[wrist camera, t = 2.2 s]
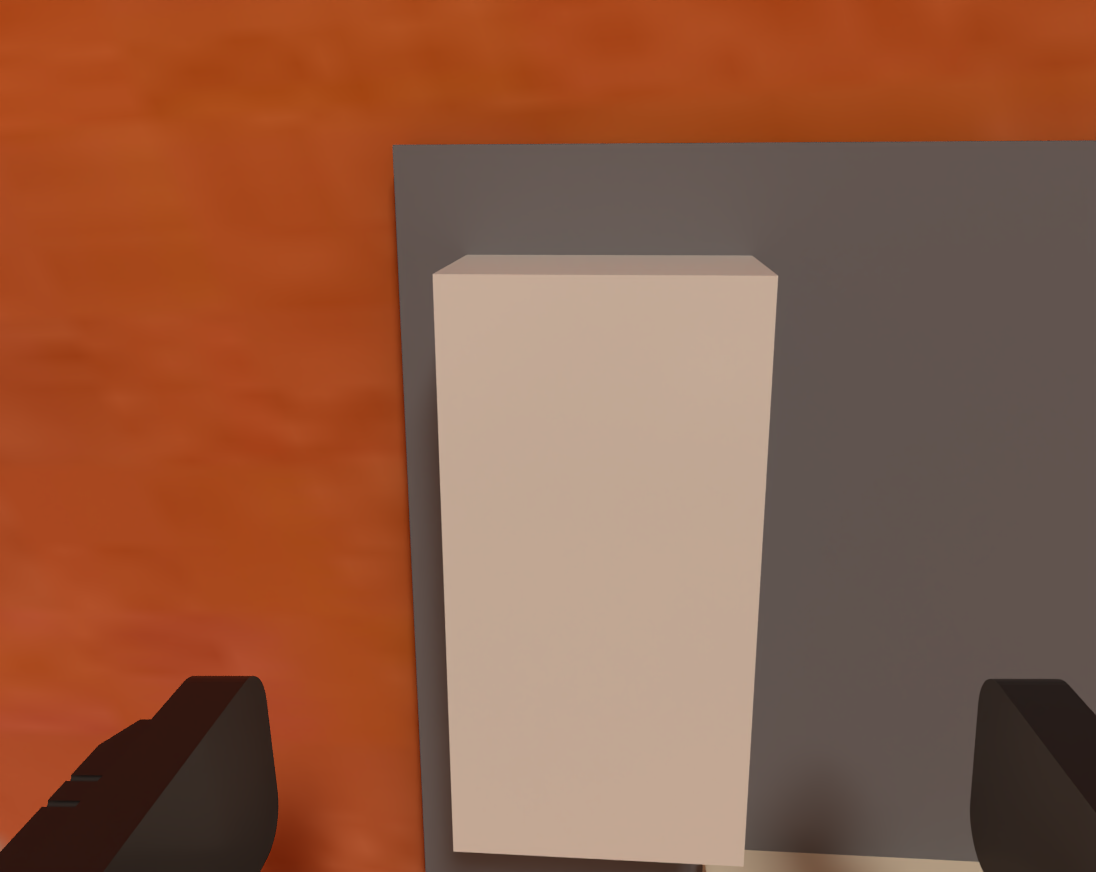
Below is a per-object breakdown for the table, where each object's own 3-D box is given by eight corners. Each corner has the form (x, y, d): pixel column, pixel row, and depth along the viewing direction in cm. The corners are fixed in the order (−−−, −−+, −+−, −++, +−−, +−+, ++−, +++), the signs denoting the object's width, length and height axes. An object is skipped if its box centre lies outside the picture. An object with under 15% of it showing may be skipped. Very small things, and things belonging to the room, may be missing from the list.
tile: (466, 255, 14) (433, 274, 11) (752, 255, 14) (778, 275, 11) (480, 748, 16) (453, 851, 14) (726, 759, 16) (743, 866, 13)
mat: (402, 145, 14) (369, 142, 12) (1683, 137, 13) (1846, 133, 11) (445, 1150, 19) (427, 1248, 18) (1361, 1221, 18) (1439, 1334, 16)
